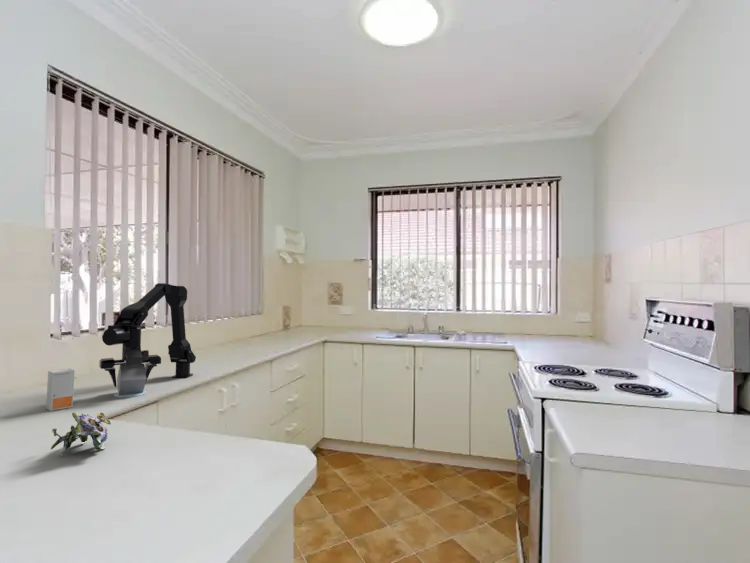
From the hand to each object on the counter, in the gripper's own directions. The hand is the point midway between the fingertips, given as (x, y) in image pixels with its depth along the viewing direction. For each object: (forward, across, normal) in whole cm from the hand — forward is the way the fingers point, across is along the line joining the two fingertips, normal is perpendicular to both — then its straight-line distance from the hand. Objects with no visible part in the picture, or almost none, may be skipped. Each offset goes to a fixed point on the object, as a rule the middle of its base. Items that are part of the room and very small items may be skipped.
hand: (130, 385), depth 147 cm
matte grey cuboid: (+1, 0, +2) cm, 2 cm away
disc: (+3, 0, 0) cm, 3 cm away
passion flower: (+4, -18, -52) cm, 55 cm away
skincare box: (+4, -20, -7) cm, 22 cm away
